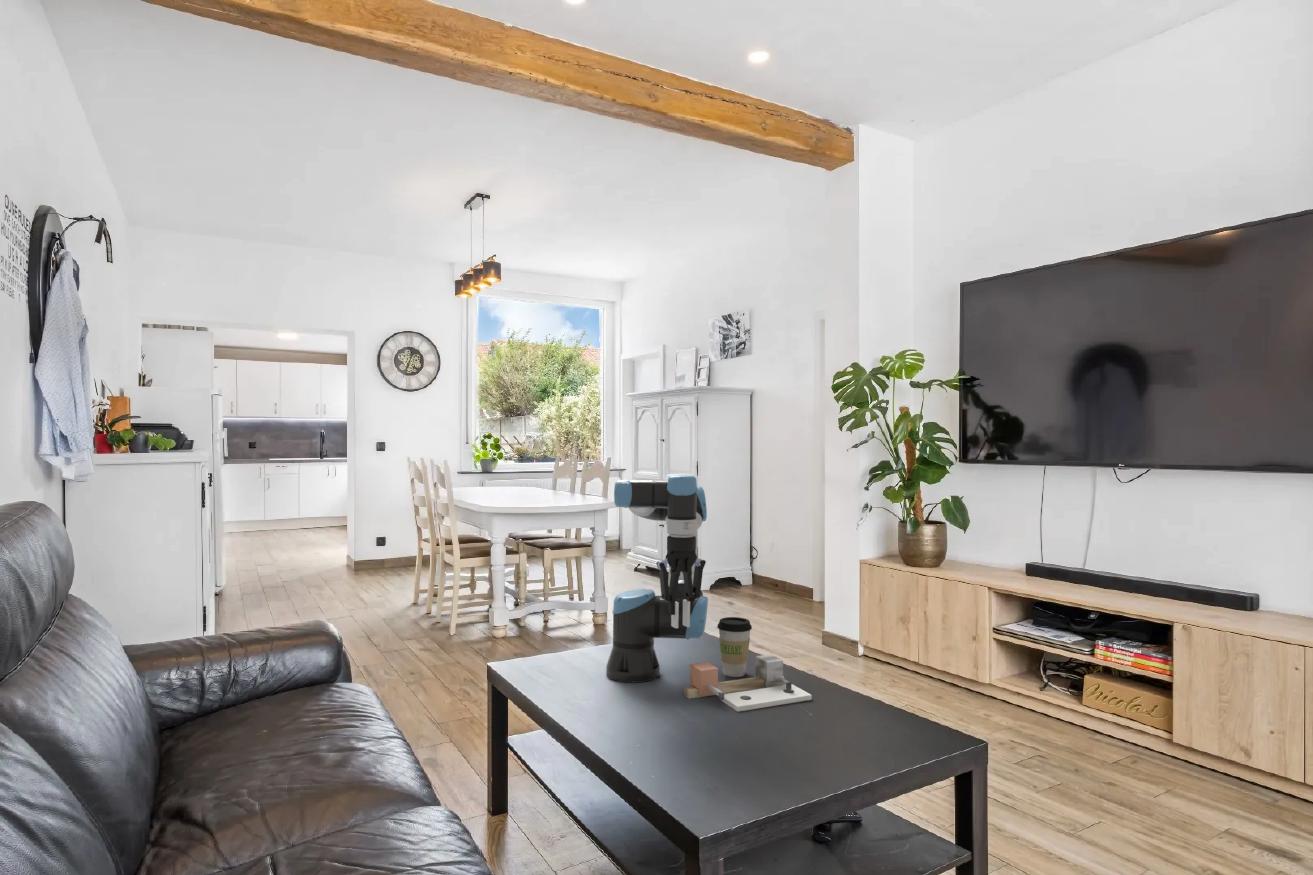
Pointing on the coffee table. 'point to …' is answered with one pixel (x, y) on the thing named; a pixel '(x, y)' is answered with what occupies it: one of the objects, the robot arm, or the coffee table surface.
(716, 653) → the coffee table surface
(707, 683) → the sliding leg
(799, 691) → the hole plate
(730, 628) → the coffee cup
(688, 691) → the rail
